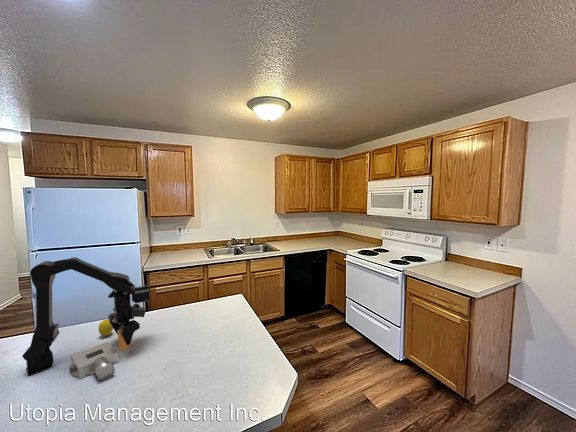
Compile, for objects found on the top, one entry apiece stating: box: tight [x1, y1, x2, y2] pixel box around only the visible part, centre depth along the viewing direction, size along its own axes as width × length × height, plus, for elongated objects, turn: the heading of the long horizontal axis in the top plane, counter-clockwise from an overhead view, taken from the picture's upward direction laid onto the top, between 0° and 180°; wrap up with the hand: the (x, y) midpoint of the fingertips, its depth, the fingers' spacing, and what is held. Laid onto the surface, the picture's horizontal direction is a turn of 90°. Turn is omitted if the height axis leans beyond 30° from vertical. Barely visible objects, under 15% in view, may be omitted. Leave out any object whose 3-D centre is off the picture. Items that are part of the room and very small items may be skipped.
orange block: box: [117, 330, 132, 351], centre depth 107 cm, size 4×2×8 cm, turn 141°
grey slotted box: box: [69, 341, 120, 381], centre depth 94 cm, size 15×22×5 cm
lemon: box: [98, 318, 114, 337], centre depth 116 cm, size 6×6×8 cm
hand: (124, 340), depth 107 cm, fingers open, 9 cm apart
